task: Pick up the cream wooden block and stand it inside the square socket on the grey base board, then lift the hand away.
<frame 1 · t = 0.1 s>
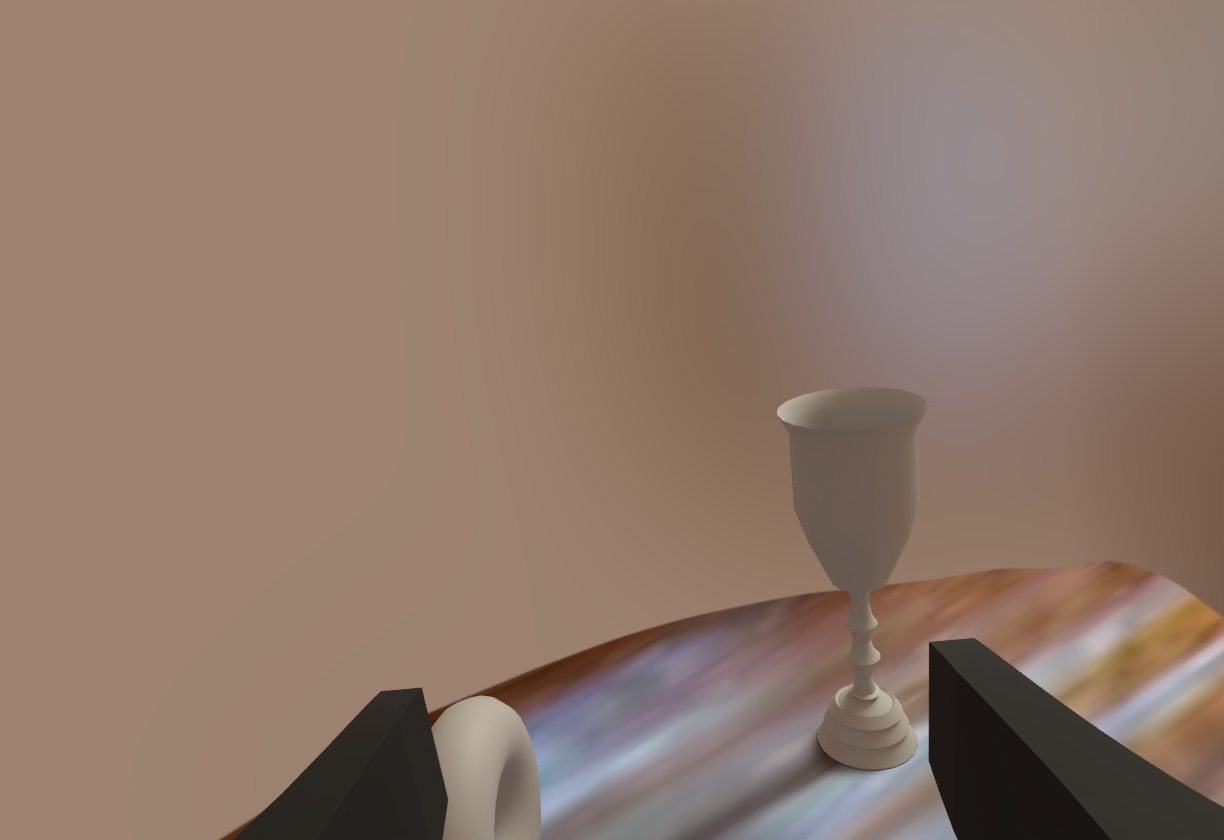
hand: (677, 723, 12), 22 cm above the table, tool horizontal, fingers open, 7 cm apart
chalice: (866, 740, 44), on the table
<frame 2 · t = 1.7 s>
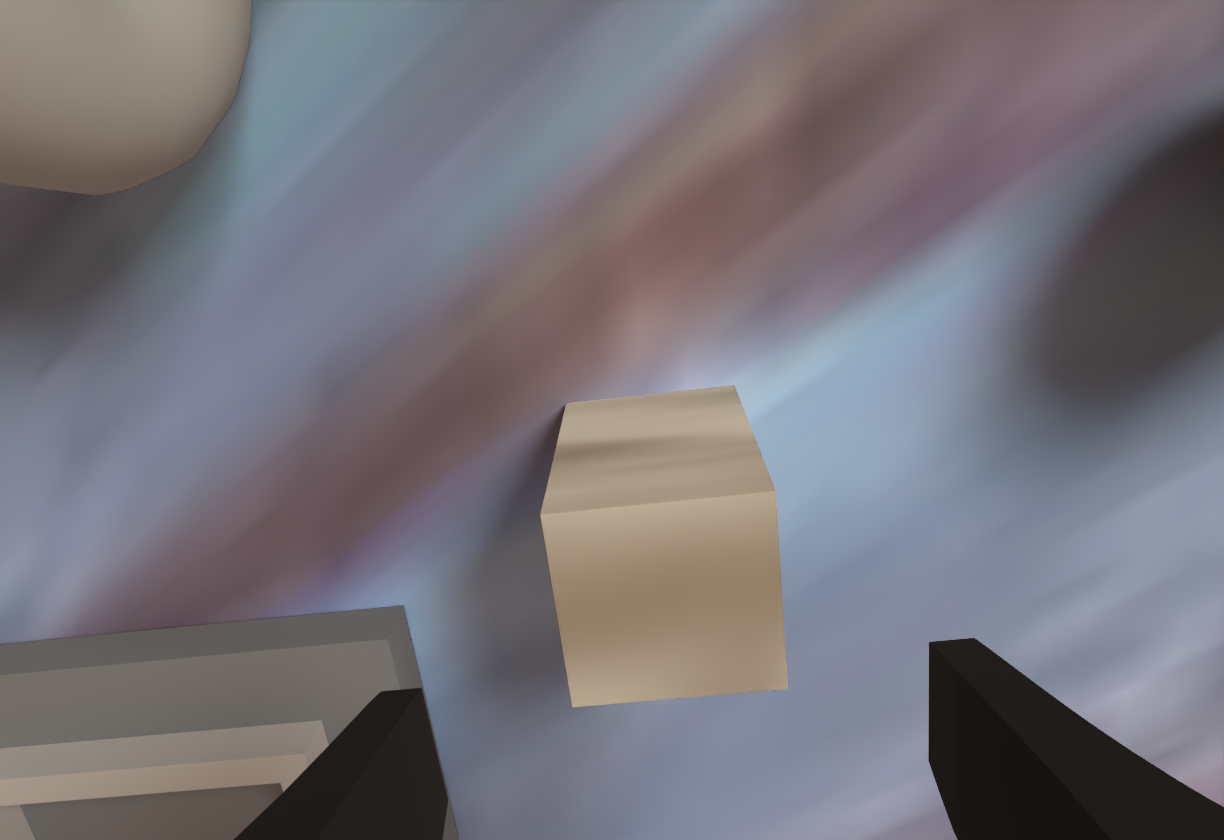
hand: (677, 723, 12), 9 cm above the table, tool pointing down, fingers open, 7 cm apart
base: (219, 833, 25), on the table
block: (658, 471, 20), on the table
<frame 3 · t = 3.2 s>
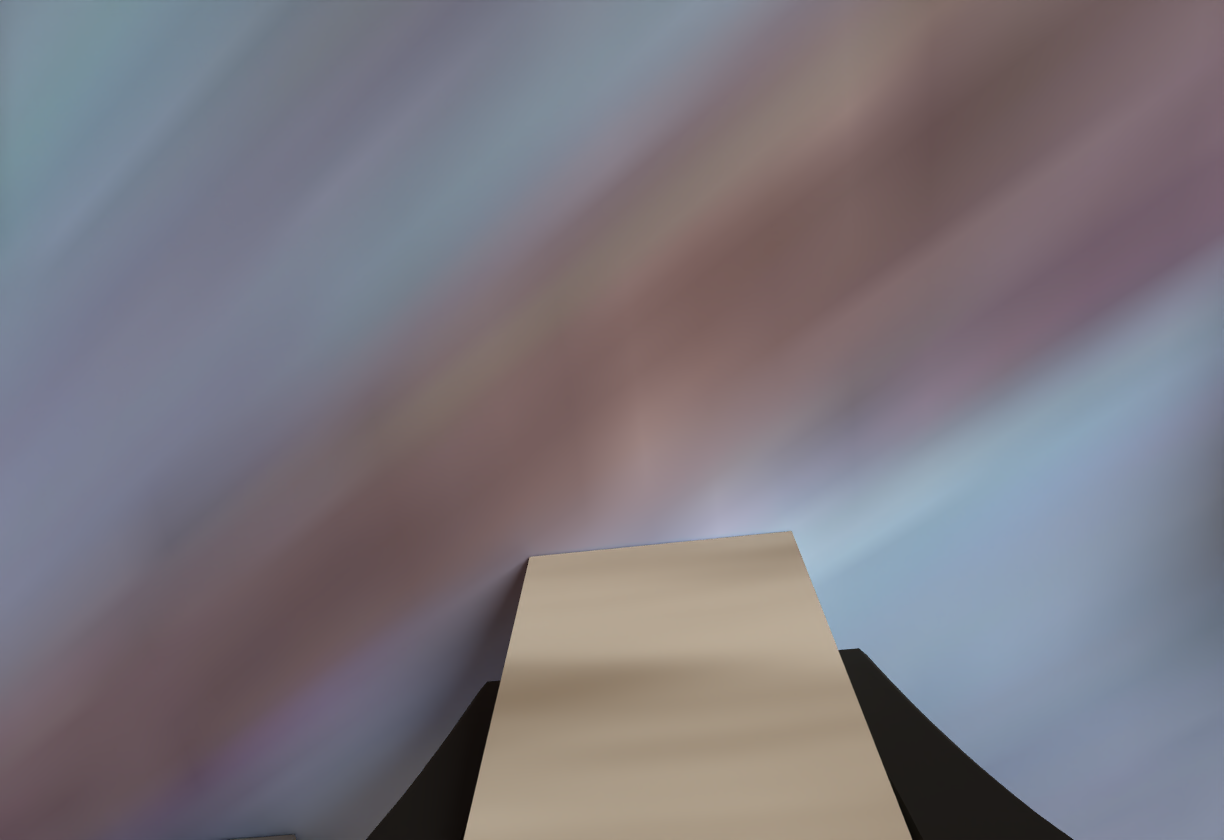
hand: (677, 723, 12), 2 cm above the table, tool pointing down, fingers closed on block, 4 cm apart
block: (672, 654, 13), on the table, touching gripper
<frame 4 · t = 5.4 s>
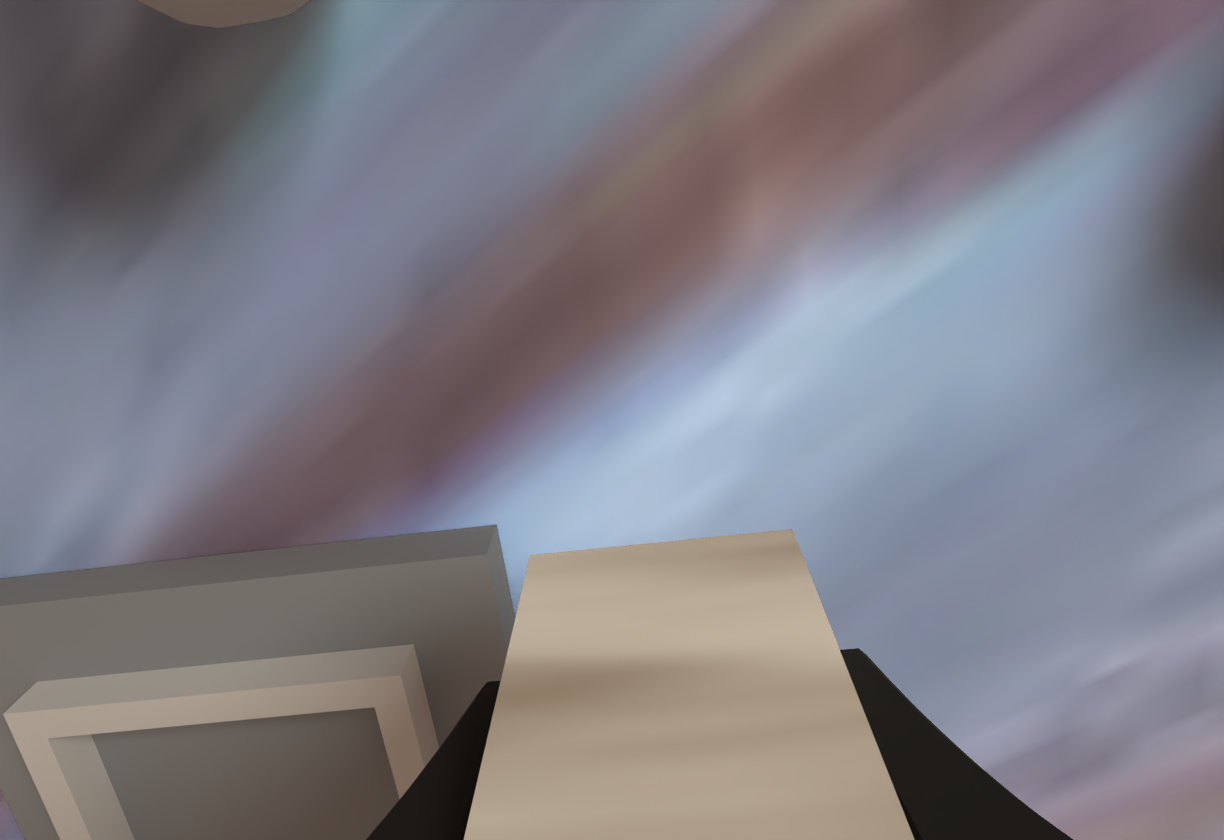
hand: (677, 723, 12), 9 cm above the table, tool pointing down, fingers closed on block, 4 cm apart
base: (295, 773, 23), on the table
block: (672, 653, 13), point 7 cm above the table, touching gripper
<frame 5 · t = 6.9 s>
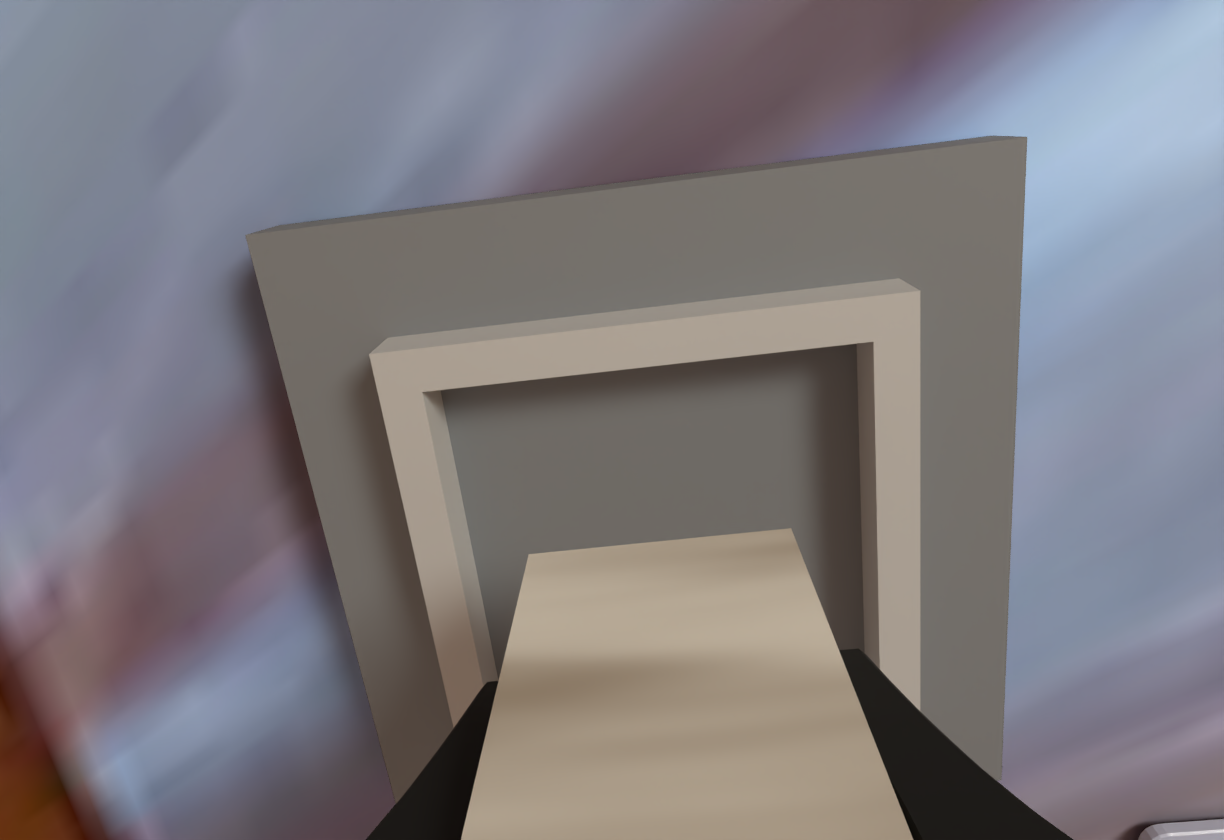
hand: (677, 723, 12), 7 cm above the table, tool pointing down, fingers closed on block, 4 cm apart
base: (662, 505, 19), on the table
block: (671, 652, 13), point 6 cm above the table, touching gripper
when the fingers open (4 cm above the table, at t = 7.9 s): block drops 1 cm, resting on base.
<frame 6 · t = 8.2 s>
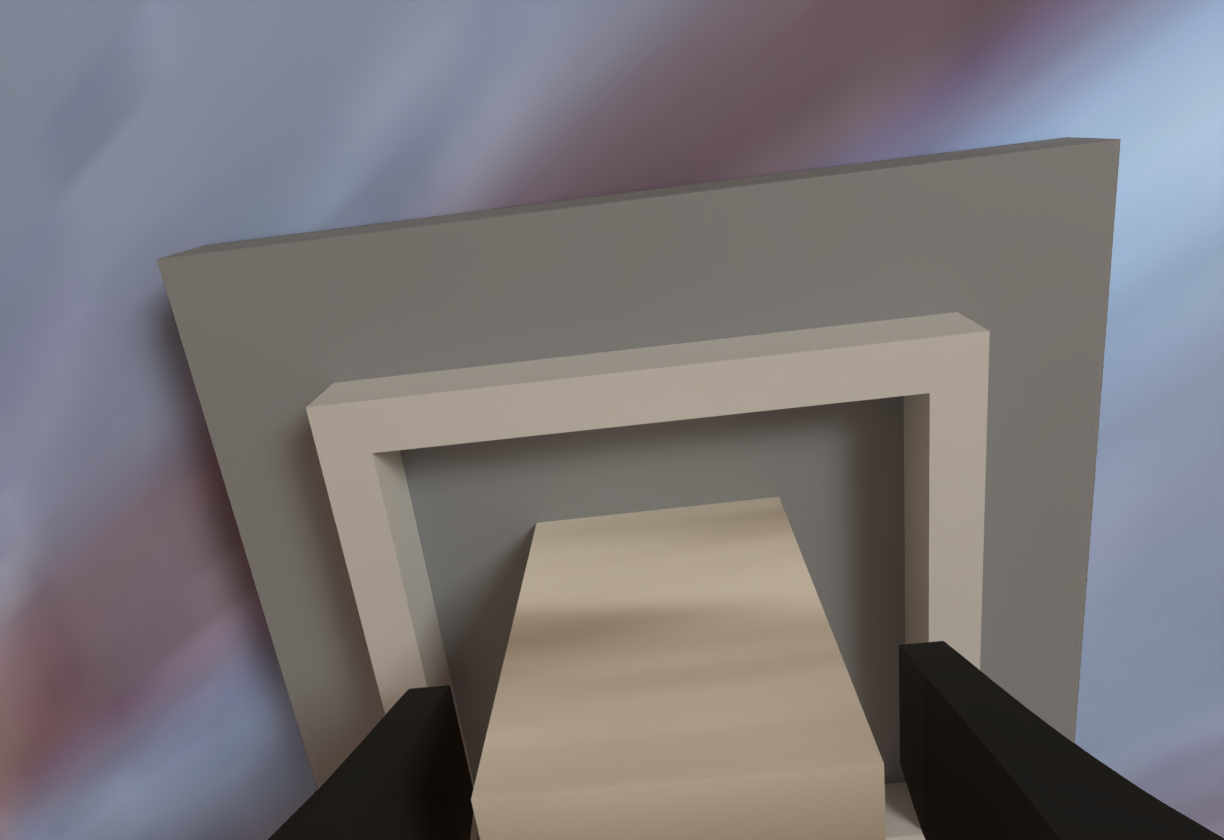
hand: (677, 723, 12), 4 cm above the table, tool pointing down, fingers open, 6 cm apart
base: (666, 572, 16), on the table
block: (669, 614, 14), point 1 cm above the table, touching base
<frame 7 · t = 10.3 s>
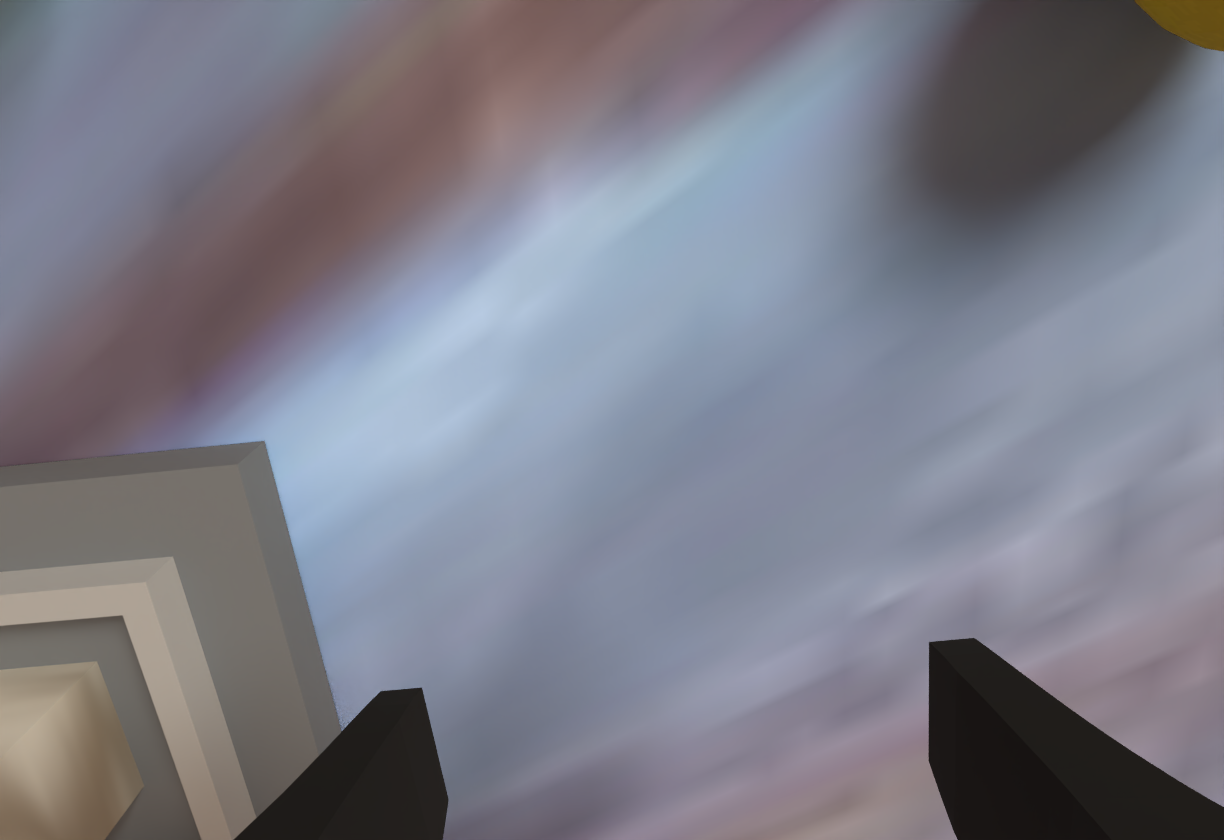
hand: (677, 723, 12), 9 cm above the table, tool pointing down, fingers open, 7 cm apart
base: (84, 696, 23), on the table
block: (48, 731, 22), point 1 cm above the table, touching base
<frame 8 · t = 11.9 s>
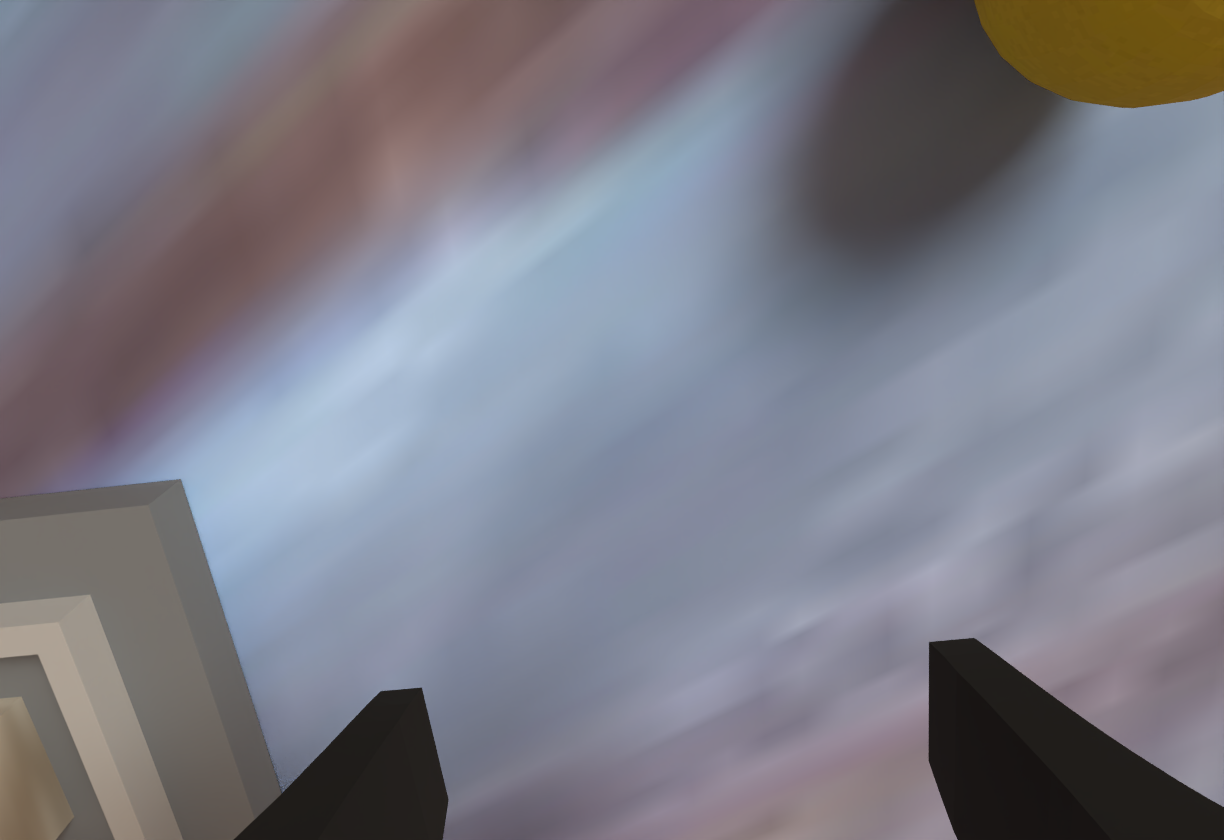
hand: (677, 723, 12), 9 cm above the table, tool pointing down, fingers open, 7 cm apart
base: (17, 728, 24), on the table
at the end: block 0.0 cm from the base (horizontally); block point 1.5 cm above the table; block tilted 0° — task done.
